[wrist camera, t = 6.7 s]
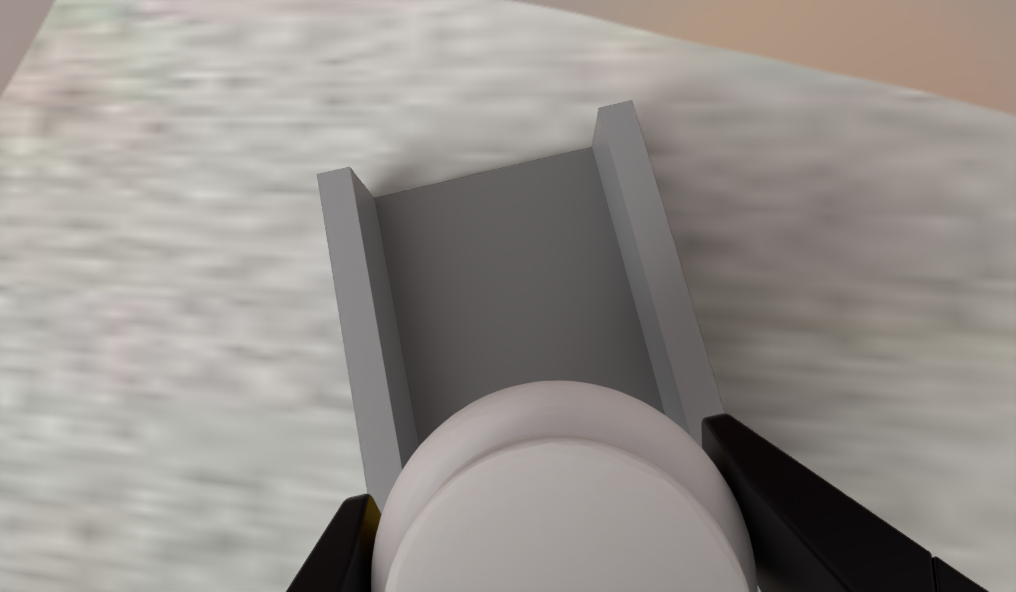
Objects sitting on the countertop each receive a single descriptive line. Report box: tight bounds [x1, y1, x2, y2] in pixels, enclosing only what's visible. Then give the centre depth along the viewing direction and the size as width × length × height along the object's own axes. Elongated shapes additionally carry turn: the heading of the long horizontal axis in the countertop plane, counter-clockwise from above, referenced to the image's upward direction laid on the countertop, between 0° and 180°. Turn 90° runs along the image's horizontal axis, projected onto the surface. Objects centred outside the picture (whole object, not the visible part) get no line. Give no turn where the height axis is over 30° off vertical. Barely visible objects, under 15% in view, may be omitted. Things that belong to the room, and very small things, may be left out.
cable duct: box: [317, 100, 761, 592], centre depth 20 cm, size 24×11×4 cm, turn 12°
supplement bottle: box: [371, 380, 758, 592], centre depth 11 cm, size 6×6×10 cm
